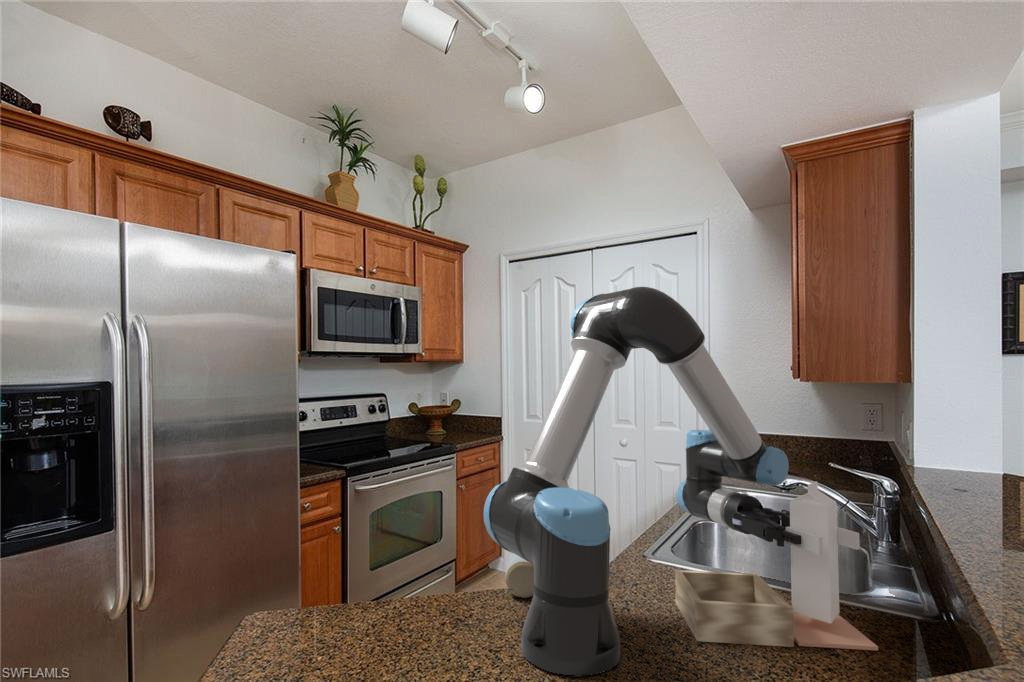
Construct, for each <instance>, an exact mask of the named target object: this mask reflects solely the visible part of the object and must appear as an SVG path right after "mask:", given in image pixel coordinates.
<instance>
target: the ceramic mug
mask: <svg viewBox="0 0 1024 682" xmlns="http://www.w3.org/2000/svg"><path fill="white" fill-rule="evenodd" d="M504 574H505V576H504V579H505V584H506V587H507V588H508V590H509V589H513V590H509V591H510V593H512V595H513V596H515V597H518V598H520V597H521V598H522V599H528V598H531V597H533V593H534V564H532V563H530V562H528V561H527V560H525V559H523V558H521V557H519V556H518V555H516V554H514V553H511V552H510V554H509V556H508V559H507V564H506V570H505V573H504ZM514 588H520V589H514Z"/></svg>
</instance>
